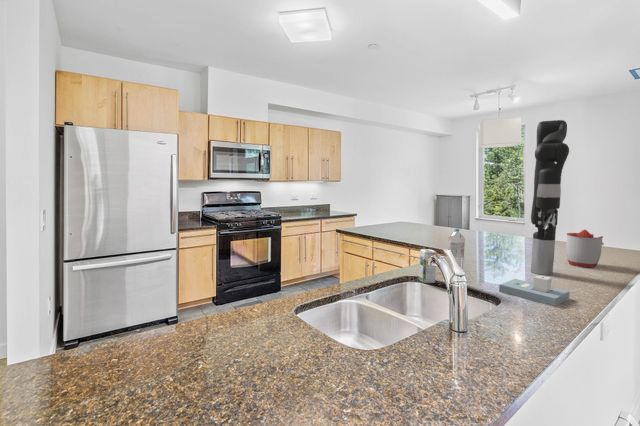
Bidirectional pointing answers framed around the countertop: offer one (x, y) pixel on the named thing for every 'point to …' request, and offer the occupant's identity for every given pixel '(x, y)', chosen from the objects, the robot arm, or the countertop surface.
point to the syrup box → (426, 266)
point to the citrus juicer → (583, 249)
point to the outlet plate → (534, 292)
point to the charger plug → (542, 284)
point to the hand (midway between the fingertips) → (545, 237)
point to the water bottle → (457, 247)
